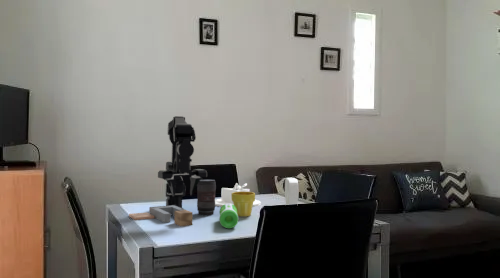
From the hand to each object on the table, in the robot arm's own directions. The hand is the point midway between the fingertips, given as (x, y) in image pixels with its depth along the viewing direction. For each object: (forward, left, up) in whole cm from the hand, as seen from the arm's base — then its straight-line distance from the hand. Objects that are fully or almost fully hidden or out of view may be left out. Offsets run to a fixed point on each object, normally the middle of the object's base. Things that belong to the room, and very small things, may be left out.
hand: (182, 195), depth 179 cm
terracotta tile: (+10, -20, -11) cm, 25 cm away
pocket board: (0, -14, -11) cm, 18 cm away
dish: (-44, -34, -12) cm, 56 cm away
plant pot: (-31, -5, -11) cm, 33 cm away
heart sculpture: (-40, +18, -11) cm, 45 cm away
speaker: (-16, +9, -11) cm, 22 cm away
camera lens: (-18, -15, -11) cm, 25 cm away
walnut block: (0, +1, -11) cm, 11 cm away
